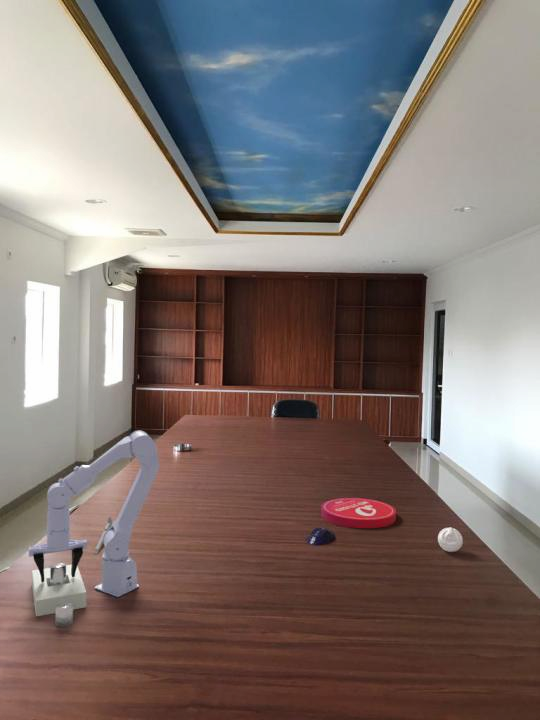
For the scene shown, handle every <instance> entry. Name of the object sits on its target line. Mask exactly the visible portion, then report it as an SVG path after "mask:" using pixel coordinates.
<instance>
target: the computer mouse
mask: <svg viewBox="0 0 540 720" xmlns="http://www.w3.org/2000/svg"><path fill="white" fill-rule="evenodd" d="M335 535H336V534H335V533H334V532H333V531H332V530H329V529H327V528H326V527H315V528H314V529H313V530H312V532H311V534H310V535H309V536H307V537H306V538H305V539H306V543H307V544H309V545H312V546H316V547H317V546H322V545H323V546H324V545H326V544H329V543H330V542H332V541H333V539H334V538H335Z"/></svg>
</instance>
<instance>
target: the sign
mask: <svg viewBox="0 0 540 720" xmlns="http://www.w3.org/2000/svg"><path fill="white" fill-rule="evenodd" d="M320 511H321V512H320V513H321V518H323V519H324V520H325V521H327V522H329V523H332V524H334V525H338V526H342V527H347V528H356V529H375V528H376V529H377V528H378V529H379V528H384V527H388V526H391V525H393V524H394V523H395V522H396V520H397V518H396V517H397V511H396V508H395V507H393V506H392V505H390V504H388V503H386V502H383V501H379V500H375V499H369V498H361V497H342V498H335V499H330V500H327V501H325V502H323V503H322V504H321V509H320Z"/></svg>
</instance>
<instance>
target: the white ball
mask: <svg viewBox="0 0 540 720" xmlns="http://www.w3.org/2000/svg"><path fill="white" fill-rule="evenodd" d="M463 539H464V538H463V536H462V534H461V533H460V531H459V530H457V528H453V527H444V528H443V529H442V530H441V529H440V531H439V533H438V536H437V543H438V544H439V546H440V548H442V550H443V551H446V552H448V553H454V552H457V551H459V550H460V549H461V548H462V546H463V543H464V542H463Z"/></svg>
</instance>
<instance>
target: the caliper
mask: <svg viewBox="0 0 540 720" xmlns="http://www.w3.org/2000/svg"><path fill="white" fill-rule="evenodd" d="M112 524H113V519H112V517H111V516H109V517H107V523H106V525H105V527H104V529H103V532H102V534H101V536H100V538H99V540H98V542H97V545H96V547H95V548H94V551H93V552H94V553H93V554H94V555H97V554H98V553H99V552H100V550H101V548H102V546H103V545H104V544H103V536H104V534H105V532H106V531H107V530H108V529H110V527H111V526H112Z"/></svg>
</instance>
